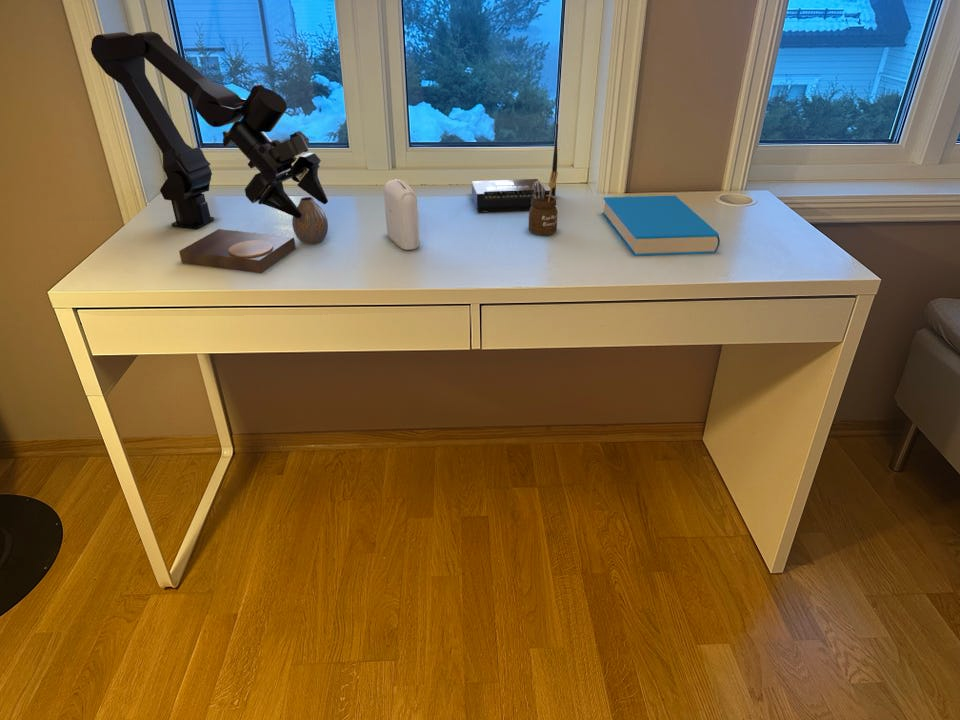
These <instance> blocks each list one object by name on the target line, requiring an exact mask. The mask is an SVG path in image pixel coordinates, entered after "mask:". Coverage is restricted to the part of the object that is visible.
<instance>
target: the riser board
mask: <svg viewBox="0 0 960 720" xmlns="http://www.w3.org/2000/svg"><path fill="white" fill-rule="evenodd" d="M296 248H297V247H296V241H295V237H294V236H287V235H286V236H285V235H276V234H268V233H259V232H250V231H249V232H248V231H241V230H240V231H239V230H230V229H222V228H218V229H216V230H214V231H212V232H211V233H209V234H207V235H205V236H203V237H202V238H200V239H198V240H196V241H195V242H193V243H190V244H189V245H187V246H186V247H184V248H181V249H180V250H179V251H178V253H179V257H180V261H181V264H183V265H193V266H201V267H208V268H215V269H216V268H217V269H224V270H232V271H241V272H247V273H248V272H250V273H256V274H258V273H259V274H262V273H264V272H265V271H267V270H268V269H270V268H272V267H273V266H274V265H276V264H277V263H278V262H280V261H282V259H284V258H285V257H286V256H288V255H289V254H291V253H292V252H294V251H295V250H296Z"/></svg>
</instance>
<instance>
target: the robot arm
mask: <svg viewBox="0 0 960 720" xmlns="http://www.w3.org/2000/svg"><path fill="white" fill-rule="evenodd" d="M90 51H91V55H92V57H93V59H94V60H95V61H96V63H97V64H98V66H99V67H100V68H101V69H102V70H103V72H104V73H105V74H106V75H107V76H109V77H110V78H111V79H113V80H114V81H116V82H117V83H119V84H120V85H121V87H122V88H123V90H124V91H125V93H126V95H127V96H128V98H129V99H130V102H131V103H132V105H133V106H134V108H135V110H136V111H137V113H138V115H139V116H140V118H141V120H142V121H143V123H144V125H145V126H146V128H147V130H148V131H149V133H150V134H151V136H152V138H153V140H154V141H155V143H156V145H157V146H158V148H159V150H160V151H161V154H162V169H163V172H164V173H165V176H166V180H165V181H164V183H163V184H162V185H161V187H160V188H159V192H160V193H161V196H162V198H163V199H164V201H170V202H171V206H172V210H173V215H174V219H175V221H173V222H171V225H170V226H171V227H177V228H184V229H194V230H196V229H199V228H202V227H203V226H205V225H207V224H209V223H210V222H211V223H212V222H213V221H215V217H214V216H211V215H210V214H211V213H210V209H209V203H208V201H206V196H205V193H206V192H209V191H210V186H211V185H210V184H211V180H212V175H213V172H212V169H211V167H210V166H211V163H210V161H208V160H207V158H206V157H205V154H204V152H203V150H202V149H201V148H200V147H199V146H197V147H192V146H190V145H189V144H187V142H186V141H185V140H184V138H183V136H182V135H181V133H180V132H179V130H178V128H177V126H176V125H175V123H174V122H173V119H172V118H171V116H170V114H169V113H168V111H167V109H166V107H165V106H164V104H163V103H162V100H161V99H160V97H159V96H158V94H157V93H156V91H155V88H154V87H153V85H152V83H151V81H150V80H149V78H148V76H147V75H146V61H147V62H149V63H150V64H151V65H152V67H154V68H155V69H157V71H159V72H160V73H161V74H162V75H163V76H165V77H166V78H167V79H168V80H169V81H170V82H171V83H172V84H174V85H175V86H176V87H177V88H178V89H180V90H181V91H182V92H183V93H184V94H185V95H186V96H187V97H188V98H189V99H190V100H191V102H192V105H193V106H194V110H195V111H196V113H198V115H199V116H200V117H201V118H202V119H203V121H205V123H207V125H209V126H211V127H213V128H220V127H224V126H228V125H230V124H232V125H231V127H230V128H229V129H228V130H224V131H222V137H223V138H222V145H223V147H228V146H232V145H235V146H236V147H237V149H239V151H240V152H241V153H242V154H243V155H244V156H245V157H246V158H247V159H248V160H249V161H248V164H247V166H248V167H249V168H250V169H254V168H256V169H257V171H258V173H256V174H254V176H253V177H252V178H251V180H250V181H249V182H248V184H247V185H246V186H245V188H244V194H245V197H246V198H247V199H248V200H249V201H250V202H251V204H255V203H257V204H259V205H264V206H267V207H269V208H273V209H276V210H278V211H281V212H283V213H284V214H288V215H290V216H292V217H293V216H294V217H296V218H300V217H301V216H302V213H301V212H300V210H299V209H298V208H297V207H298V205H296V204H295V202H294V201H293V200H292V198H290V197H289V195H288V193H286V191H285V189H284V184H283V182H286V181H288V180H292V181H294V182H296V183H297V187H298V188H300V189H301V190H303V191H304V192H306V193H307V194H308V195H309V196H310V197H312V198H313V199H314V200H316V201H318V202H319V203H321V204H323V205H327V203H328V202H329V200H328V198H327V195H326V193H325V191H324V188H323V186H322V184H321V182H320V178H319V175H318V173H319V169H320V163H321V161H322V160H321V158H319V156H318V155H317V154H316V153H315V152H309V151H310V149H309V147H308V146H310V139H309V138H308V137H307V136H306V134H304V133H303V132H302V131H301V130H297V131H295V132H293V133H291V134H289V139H285V141H283V142H281V141H280V140H278V139H274V140H271V139H270V137H268V135H267V134H266V133H270V132H272V131H273V130H274V129H275V127H276V125H277V124H278V123H279V121H280V120H281V118H282V117H283V115H284V114H285V113H286V111H288V106H287V102H286V100H285V98H283V97H282V95H280V94H279V93H277V92H275V91H274V90H272V89H270V88H266V87H265V86H264V85H263V83H259V84H255V85H253V86H252V88H251V90H250V93H249V94H248V96H247V97H246V98H242V97H240V96H239V94H237V93H236V92H234V91H233V90H231V89H230V88H228V87H226V85H223V84H221V83H218V82H215V81H212V80H210V79H209V78H207V77H206V76H204V75H203V74H202V72H200V71H199V70H198V69H197V68H196V67H194V66H193V65H192V64H191V63H190V62H188V61H187V59H185V58H184V57H183V56H181V55H180V54H179V53H178V52H177V51H176V50H175V49H174V48H173V47H171V46H170V45H169V44H168V43H167V42H166V41H164V39H163V37H162V36H161V34H159V33H157V32H155V31H143V32H137V33H134V34H131V33H128V32H126V31H120V32H119V31H118V32H110V33H101V34H96V35H94V36H93V38H92V39H91V47H90ZM307 152H308V153H307ZM303 153H304V154H303ZM301 154H302V155H301ZM299 155H300V156H299ZM297 156H299V157H298V158H297Z"/></svg>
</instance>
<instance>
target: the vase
mask: <svg viewBox="0 0 960 720" xmlns="http://www.w3.org/2000/svg"><path fill="white" fill-rule="evenodd" d="M297 208H298V209H299V210H300V212H301V213H302V216H301V217H300V218H296V217H294V216H292V218H291V219H292V220H291V224H292V229H293V233H294V234H295V237H296V238H297V239H298V240H299V241H300V242H301V243H303V244H304V245H317V244H320V243H322V242H323V241H324V239H326V236H327V235H328V232H329V231H328V229H329V223H328V218H327V215H326V213H325V211H324V209H322V208H321V206H319V204H317V203H316V201H315V198H314V197H313V196H305V197H301V198H300V200H299V202H298V205H297Z"/></svg>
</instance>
